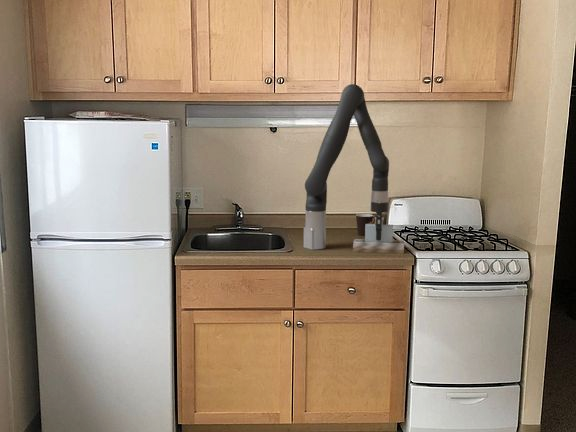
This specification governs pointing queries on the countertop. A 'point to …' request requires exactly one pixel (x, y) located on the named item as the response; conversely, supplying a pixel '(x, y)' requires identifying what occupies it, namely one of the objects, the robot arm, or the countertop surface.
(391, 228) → the blue-gray rectangular block
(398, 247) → the track base
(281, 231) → the countertop surface
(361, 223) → the coffee mug
